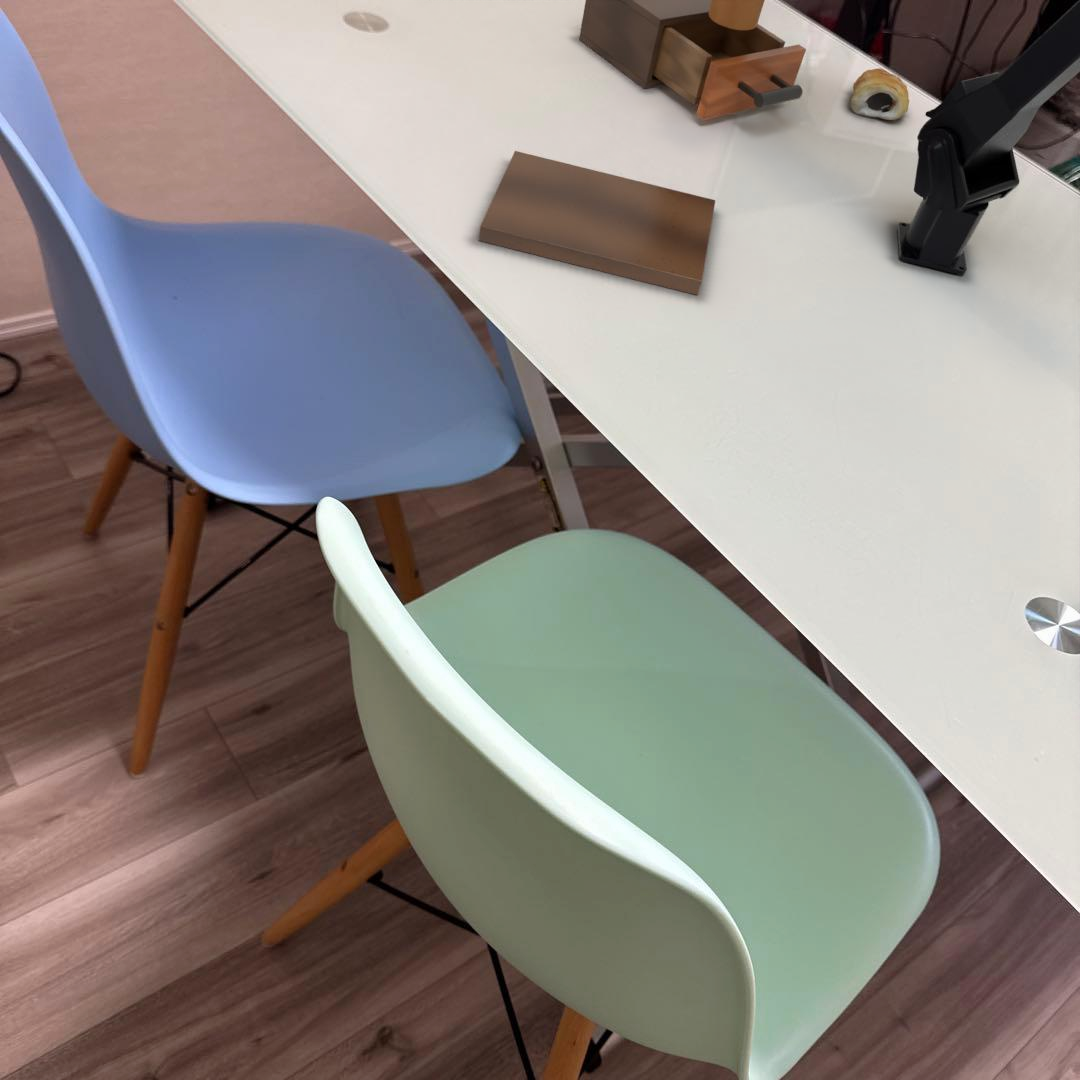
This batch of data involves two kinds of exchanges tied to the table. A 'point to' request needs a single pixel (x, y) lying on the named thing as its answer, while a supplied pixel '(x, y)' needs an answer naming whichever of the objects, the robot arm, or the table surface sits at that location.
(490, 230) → the board
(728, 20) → the dome-topped orange cylinder
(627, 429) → the table surface
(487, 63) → the table surface
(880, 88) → the pastry
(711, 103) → the drawer
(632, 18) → the cabinet
